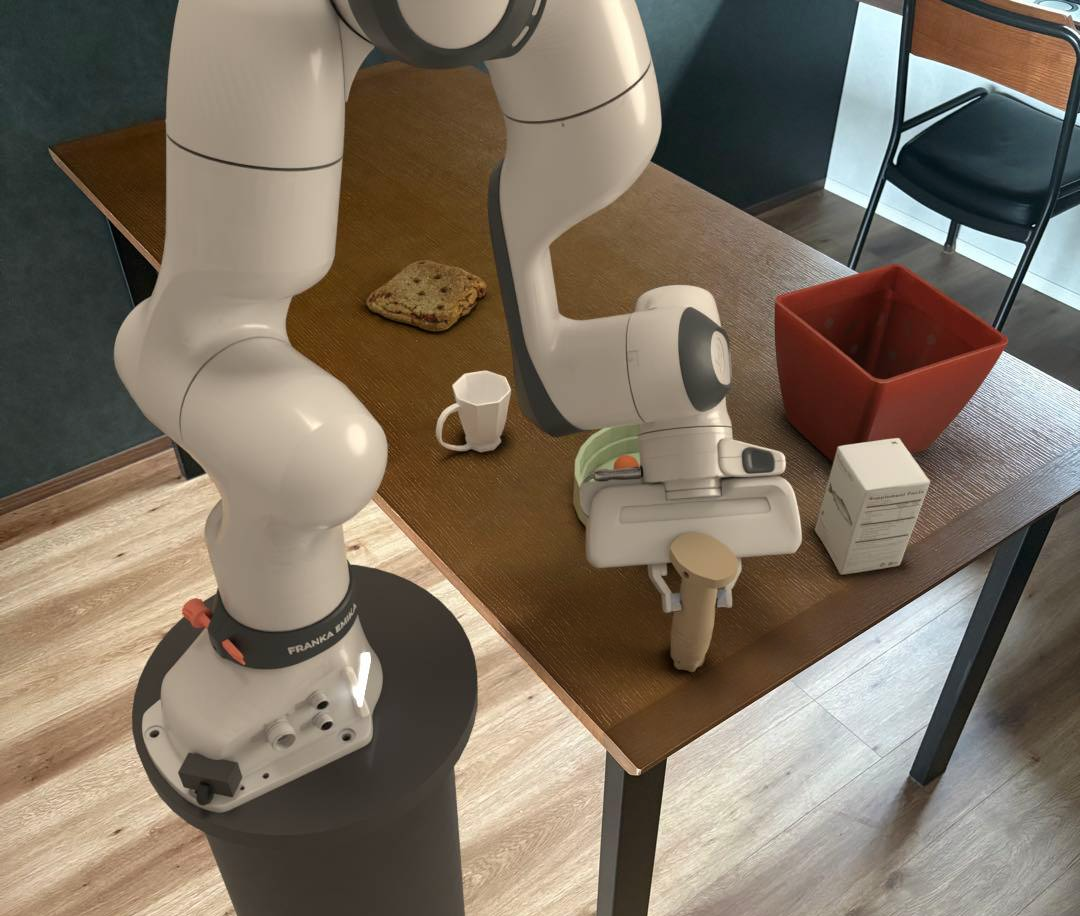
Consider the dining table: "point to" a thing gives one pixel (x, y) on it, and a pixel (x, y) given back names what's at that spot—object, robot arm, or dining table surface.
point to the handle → (698, 594)
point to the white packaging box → (871, 505)
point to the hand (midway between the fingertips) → (697, 610)
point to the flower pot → (878, 359)
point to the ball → (625, 462)
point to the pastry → (427, 295)
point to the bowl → (603, 456)
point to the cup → (478, 410)
